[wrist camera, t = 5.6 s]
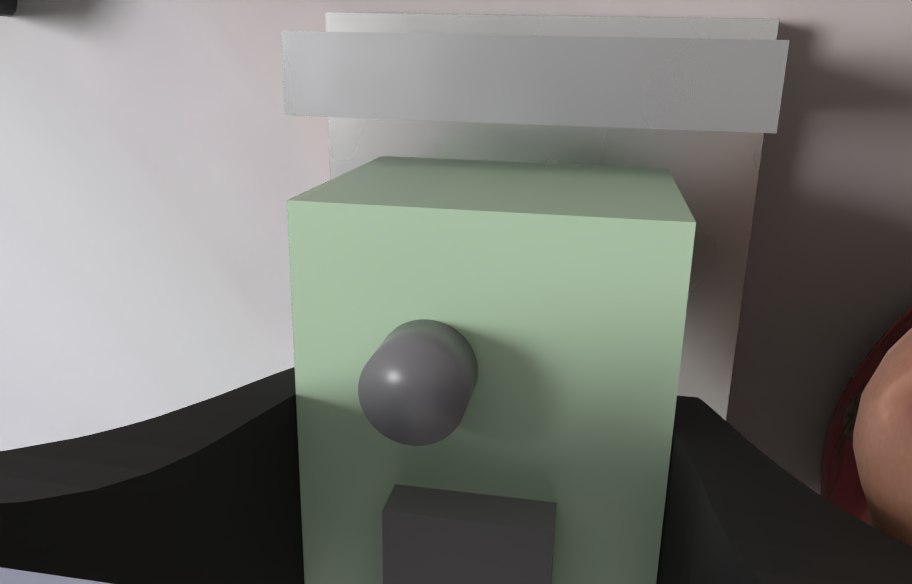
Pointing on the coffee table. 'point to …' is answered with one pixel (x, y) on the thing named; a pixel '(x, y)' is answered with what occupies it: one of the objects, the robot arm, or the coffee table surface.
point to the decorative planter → (875, 438)
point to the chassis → (568, 119)
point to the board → (487, 370)
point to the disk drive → (7, 7)
